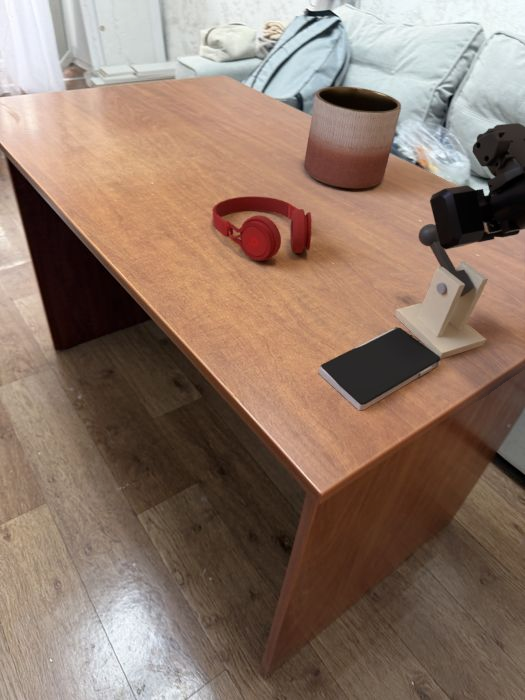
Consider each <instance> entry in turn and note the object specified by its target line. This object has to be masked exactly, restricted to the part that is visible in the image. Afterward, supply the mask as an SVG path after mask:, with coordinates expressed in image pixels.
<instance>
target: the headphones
mask: <svg viewBox="0 0 525 700" xmlns="http://www.w3.org/2000/svg"><path fill="white" fill-rule="evenodd" d="M245 211H246V212H247V211H258V212H259V211H261V212H267V213H274V214H276V215H277V214H278V215H281V216H283V217H285V218H287V219H289V220H290V233H289V235H290V236H289V237H290V249H291V251H292V253H294V254H302V253H303V252H304V249H305V251H310V248H311V241H312V215H311V214H312V213H311V212H310V211H307V213H305V210H304V209H303V208H298V207H296V206H294V205H292V204H291V203H289V202H287V201H285V200H282V199H278V198H274V197H267V196H259V195H258V196H257V195H256V196H253V195H252V196H237V197H233V198H227V199H225V200H221V201H219V202H218V203H216V204H215V205H214V206H213V207H212V225H213V228H214V229H215V230H217V232H219V233H220V234H221V235H222V236H223V237H225V238H230V239H231V240H232V241H233V242H234V243H235V244H236V245H238V246H239V247H240V249H241V250H242V252H243V253H244V254H245V255H246V256H247V257H248V258H249V259H251V260H254V261H268V260H270V259H272V258H273V257H275V256H276V255H277V254H278V252H279V250H280V248H281V245H282V237H281V233H280V230H279V228H278V226H277V225H276V223H275V222H274V221H273V220H271V219H270V218H269V217H267V216H265V215H259V214H257V215H253V216H251V217H249V218H247V219H246V220H244V221H243V223H242V224H241V226H240V227H239V228H238V227H237V226H235V225H234V224H233V223H232V222H230V221H229V220H225V219H224V218H223V217H224V216H225V215H229V214H232V213H237V212H245ZM234 232H236V233H237V235H234Z"/></svg>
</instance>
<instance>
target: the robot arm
mask: <svg viewBox="0 0 525 700" xmlns="http://www.w3.org/2000/svg"><path fill="white" fill-rule="evenodd" d="M472 153H473V156H474V157H475V158H476V160H477V162H478V163H479V165H480V166H481V167H486V168H487V169H488V171H489V172H490V174H491V175H492V176H493V177H492V178H490V179H488V180H487V181H486V183H487V186H488V194H487V195H486V194H485V192H484V189H483V188H480V189H475V188H473V187H472V186H470V185H460V186H454V187H453V186H452V187H447V188H446V187H445V188H443V189H441V190H439V191H437V192H435V193H433V194H432V195H431V197H430V199H429V204H430V208H431V212H432V216H433V219H434V225H436V229H437V233H438V238H439V242H440V246H442V247H443V248H444V249H445V251H446V250H450V249H455V248H459V247H464V246H468V245H472V244H474V243H483V242H488V241H493V240H495V238H507V237H512V236H517V235H519V234H520V231H523V230H525V125H523V124H521V123H518V122H515V123H514V122H513V123H504V124H496V125H495V126H493V127H492V128H491V127H490V128H488V129H487V130H486V131H485V132H483V133H479V134H477V136H476V142H474V144H473V145H472Z"/></svg>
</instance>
